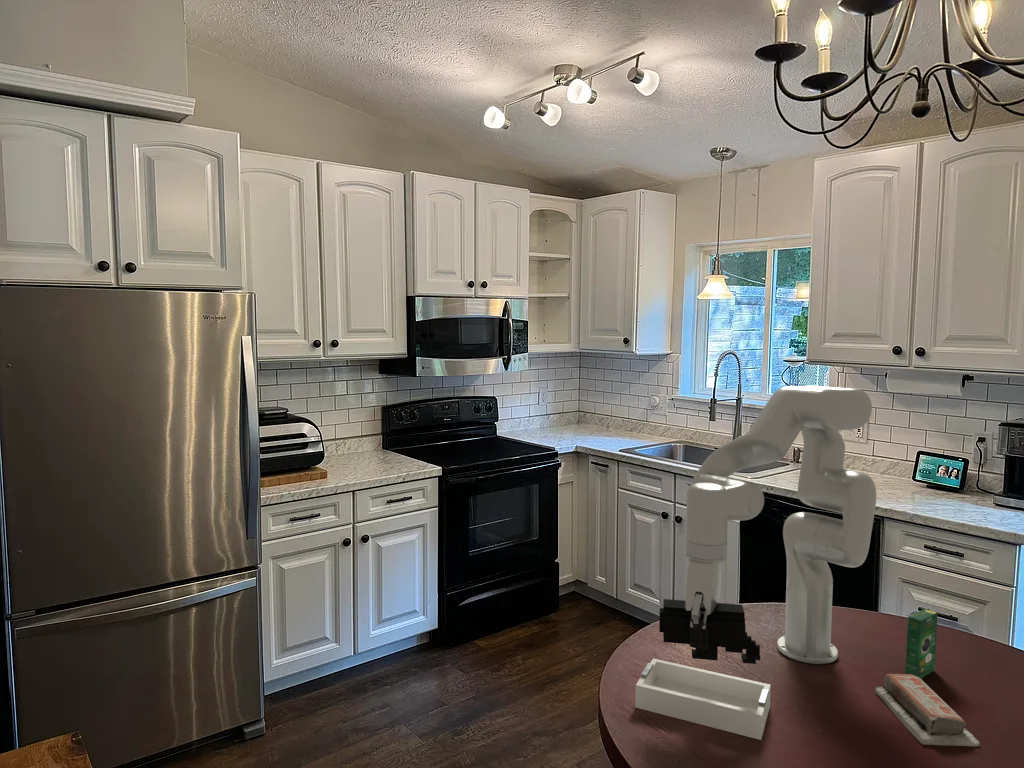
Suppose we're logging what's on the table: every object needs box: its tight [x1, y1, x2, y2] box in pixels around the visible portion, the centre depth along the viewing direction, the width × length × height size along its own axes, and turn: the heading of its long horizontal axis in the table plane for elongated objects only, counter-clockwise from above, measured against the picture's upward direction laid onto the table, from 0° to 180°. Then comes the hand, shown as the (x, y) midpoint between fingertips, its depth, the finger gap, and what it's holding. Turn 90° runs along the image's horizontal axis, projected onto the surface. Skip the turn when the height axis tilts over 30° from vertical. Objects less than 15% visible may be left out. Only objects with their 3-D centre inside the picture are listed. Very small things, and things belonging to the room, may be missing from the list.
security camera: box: [658, 598, 761, 665], centre depth 131 cm, size 7×18×10 cm, turn 78°
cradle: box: [634, 658, 772, 741], centre depth 132 cm, size 12×23×5 cm, turn 63°
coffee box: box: [904, 608, 939, 680], centre depth 144 cm, size 8×3×13 cm, turn 125°
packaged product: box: [874, 673, 981, 747], centre depth 129 cm, size 18×5×10 cm
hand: (703, 638), depth 131 cm, fingers closed on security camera, 8 cm apart
